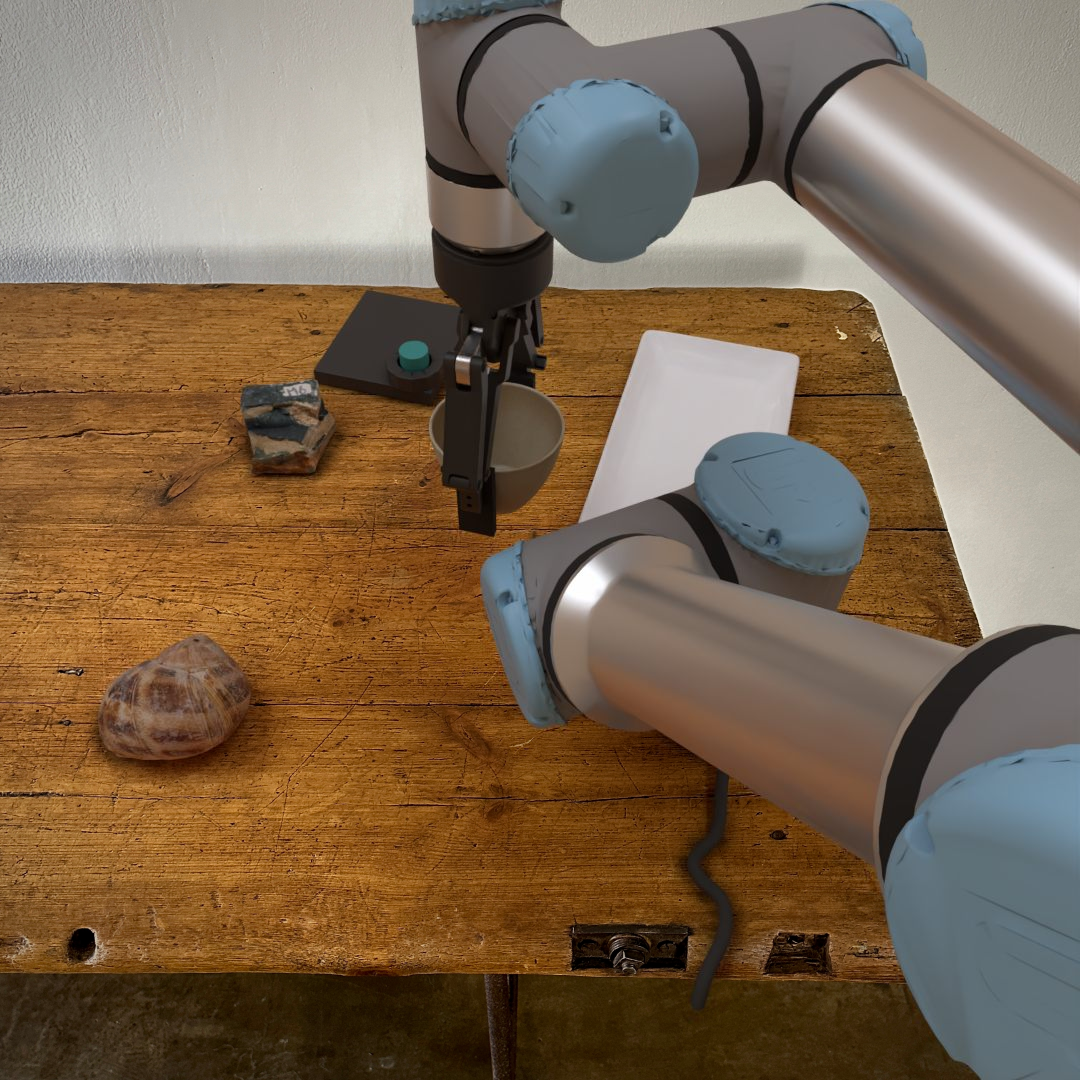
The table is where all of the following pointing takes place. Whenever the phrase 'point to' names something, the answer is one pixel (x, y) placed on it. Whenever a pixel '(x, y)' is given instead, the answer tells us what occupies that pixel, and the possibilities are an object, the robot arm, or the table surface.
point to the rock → (286, 426)
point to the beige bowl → (516, 443)
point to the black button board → (390, 347)
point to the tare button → (414, 356)
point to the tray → (686, 413)
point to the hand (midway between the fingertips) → (498, 480)
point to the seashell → (175, 702)
